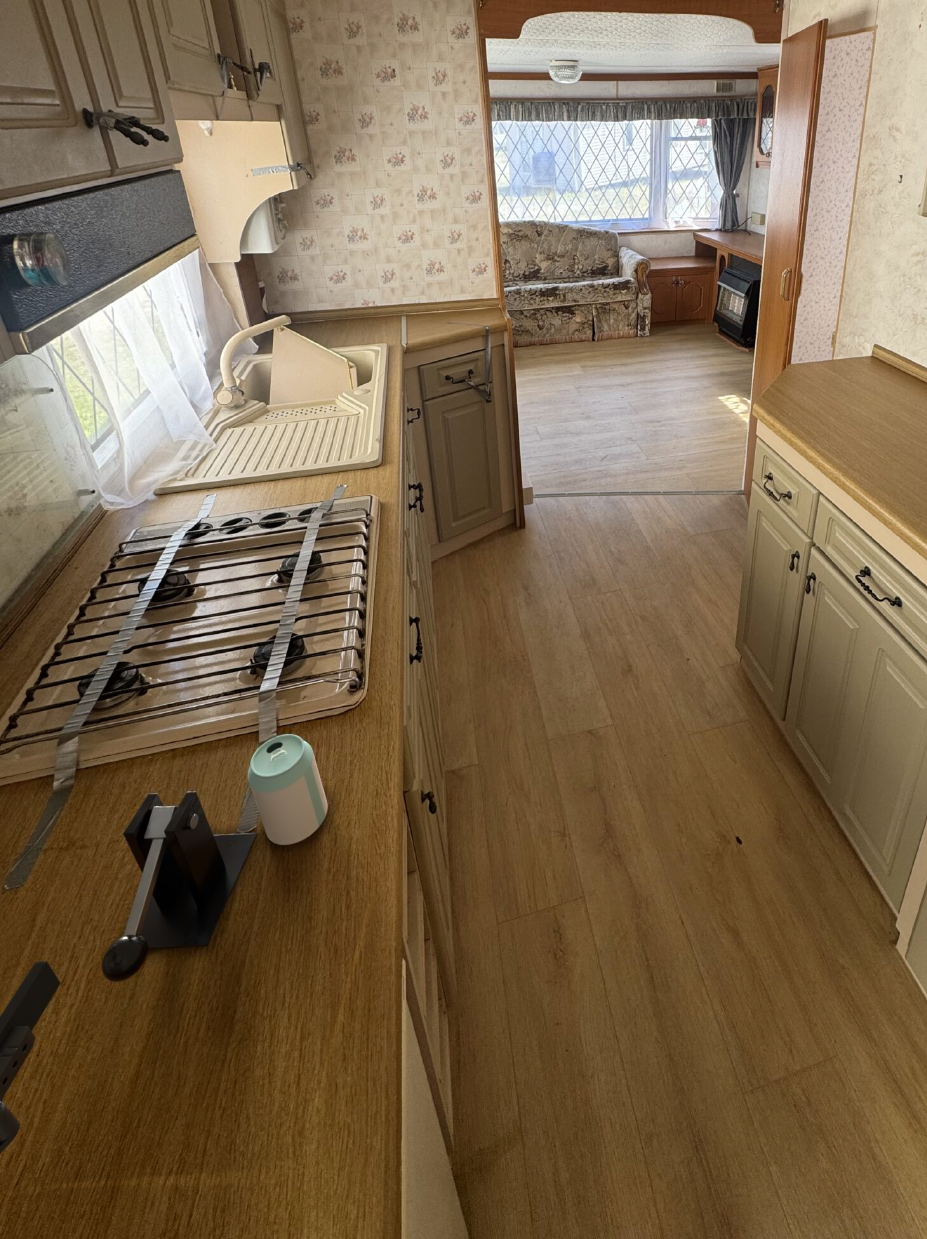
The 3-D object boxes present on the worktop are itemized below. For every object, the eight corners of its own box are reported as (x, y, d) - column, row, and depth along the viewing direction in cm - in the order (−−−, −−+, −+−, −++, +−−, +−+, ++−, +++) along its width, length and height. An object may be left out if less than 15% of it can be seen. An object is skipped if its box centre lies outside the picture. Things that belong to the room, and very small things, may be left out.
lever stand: (210, 951, 69) (172, 868, 63) (121, 956, 68) (76, 873, 63) (260, 838, 80) (232, 759, 74) (184, 842, 79) (149, 763, 74)
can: (254, 843, 79) (229, 774, 74) (292, 791, 85) (271, 724, 80) (305, 856, 78) (284, 787, 73) (340, 801, 84) (322, 734, 79)
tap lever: (148, 978, 63) (126, 982, 60) (109, 981, 63) (86, 984, 60) (195, 808, 71) (178, 804, 69) (161, 810, 71) (143, 806, 68)
